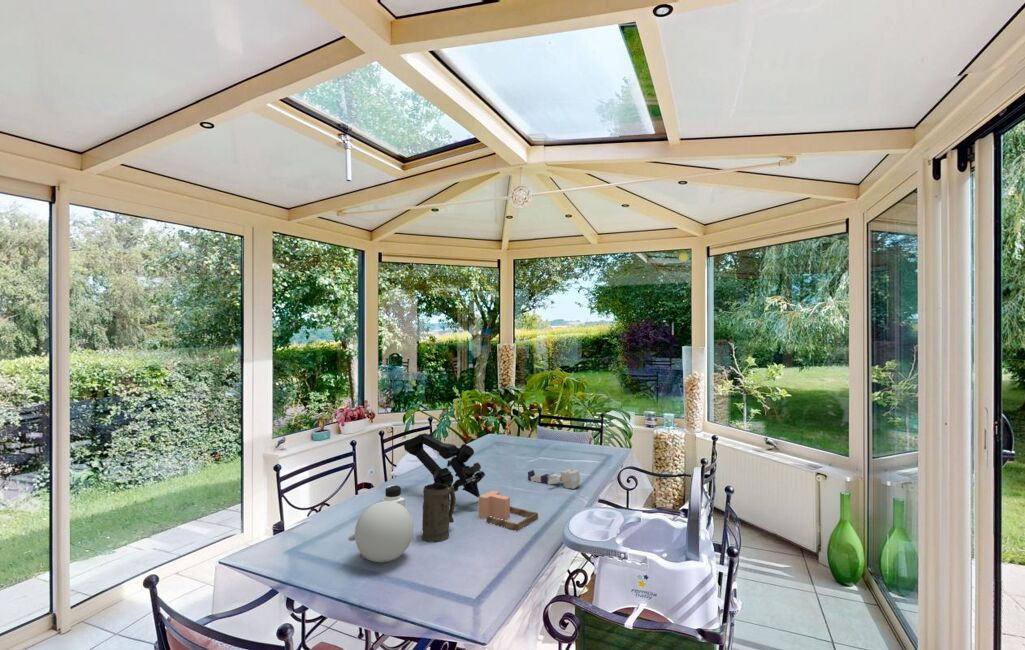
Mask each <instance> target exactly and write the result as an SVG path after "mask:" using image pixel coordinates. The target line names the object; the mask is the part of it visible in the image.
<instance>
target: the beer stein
mask: <svg viewBox="0 0 1025 650" xmlns="http://www.w3.org/2000/svg"><path fill="white" fill-rule="evenodd" d="M422 494H423V502H422V524H421V525H422V528H421V529H422V534H421V538H422V539H423V540H424V541H425V540H426V542H429V541H439V542H443V541H445V540H447V539H448V538H449V537H450V531H449V530H450V523H451V524H452V523H454V520H455V519H454V517H453V514H454V511H455V507H456V502H457V501H456V498H457V497H456V492H454V486H452V485H451V486H450V487H449V488H448V486H447V485H445V484H433V483H432V484H431V483H430V484H426V485H425V486H424V487H423V490H422ZM448 494H449V497H450V500H449V501H448ZM449 502H450V503H449ZM442 540H443V541H442Z"/></svg>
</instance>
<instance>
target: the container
mask: <svg viewBox="0 0 1025 650" xmlns="http://www.w3.org/2000/svg"><path fill="white" fill-rule="evenodd" d="M401 489H402V487H401V486H399V485H396V484H395V485H394V484H392V485H388V486H386V487H385V492H384V493H385V497H384V498H381V499H380V502H383V501H392V502H396V503H399V504H401V505H402V506H404V507H405V508H406V498H404V497H401V495H402V493H401V491H402V490H401Z"/></svg>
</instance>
